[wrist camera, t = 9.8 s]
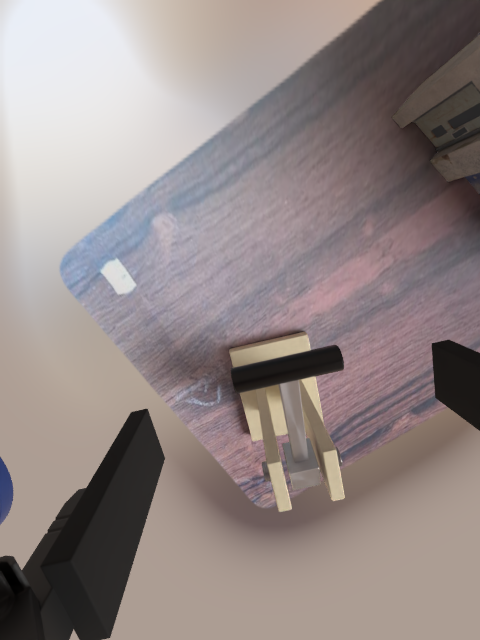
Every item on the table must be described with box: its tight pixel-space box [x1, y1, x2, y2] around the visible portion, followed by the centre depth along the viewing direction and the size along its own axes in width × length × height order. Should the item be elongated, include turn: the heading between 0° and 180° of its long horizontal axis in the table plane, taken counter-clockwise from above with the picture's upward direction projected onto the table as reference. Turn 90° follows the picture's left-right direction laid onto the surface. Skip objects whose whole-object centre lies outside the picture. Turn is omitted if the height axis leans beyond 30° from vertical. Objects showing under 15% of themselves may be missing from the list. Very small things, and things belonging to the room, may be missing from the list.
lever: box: [231, 345, 344, 490], centre depth 20 cm, size 13×6×2 cm, turn 13°
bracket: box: [229, 332, 345, 512], centre depth 28 cm, size 12×9×15 cm
